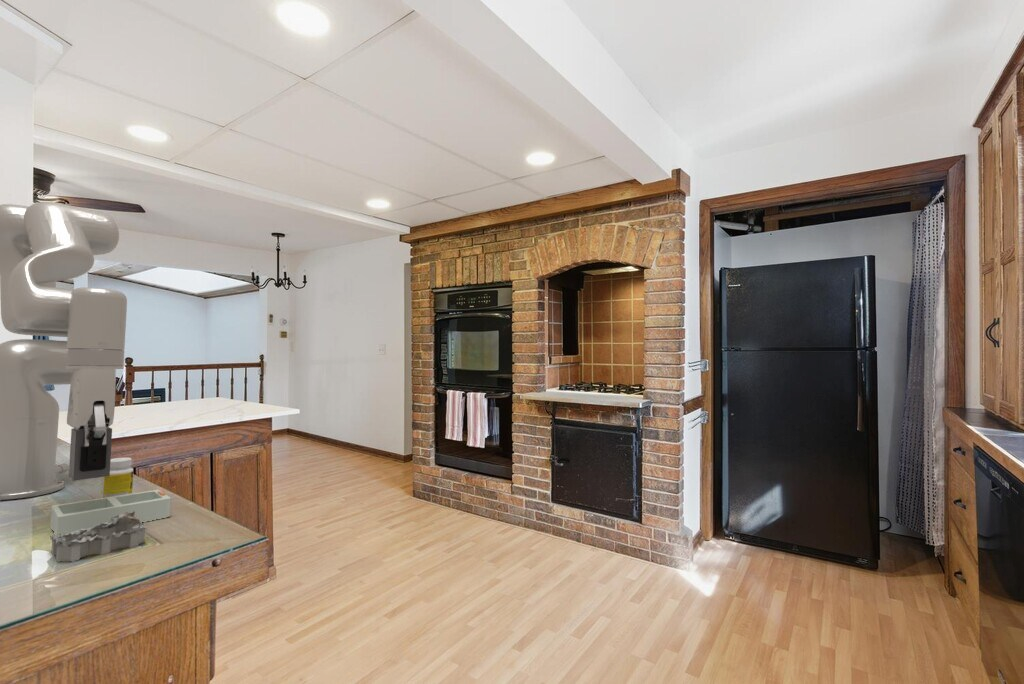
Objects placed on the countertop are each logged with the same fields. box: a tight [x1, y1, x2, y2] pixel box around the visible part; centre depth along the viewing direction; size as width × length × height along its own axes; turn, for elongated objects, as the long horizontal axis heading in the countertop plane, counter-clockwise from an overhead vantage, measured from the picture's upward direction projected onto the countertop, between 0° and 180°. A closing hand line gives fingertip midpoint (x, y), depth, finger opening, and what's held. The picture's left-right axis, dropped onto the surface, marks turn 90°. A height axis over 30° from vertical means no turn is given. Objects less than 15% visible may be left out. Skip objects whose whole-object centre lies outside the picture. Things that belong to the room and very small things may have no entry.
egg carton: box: [49, 511, 148, 563], centre depth 73 cm, size 11×8×4 cm
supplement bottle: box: [100, 457, 134, 498], centre depth 94 cm, size 5×5×8 cm
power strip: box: [49, 489, 172, 536], centre depth 84 cm, size 15×8×4 cm, turn 140°
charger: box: [68, 426, 113, 482], centre depth 81 cm, size 5×5×8 cm
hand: (89, 466), depth 81 cm, fingers closed on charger, 4 cm apart
